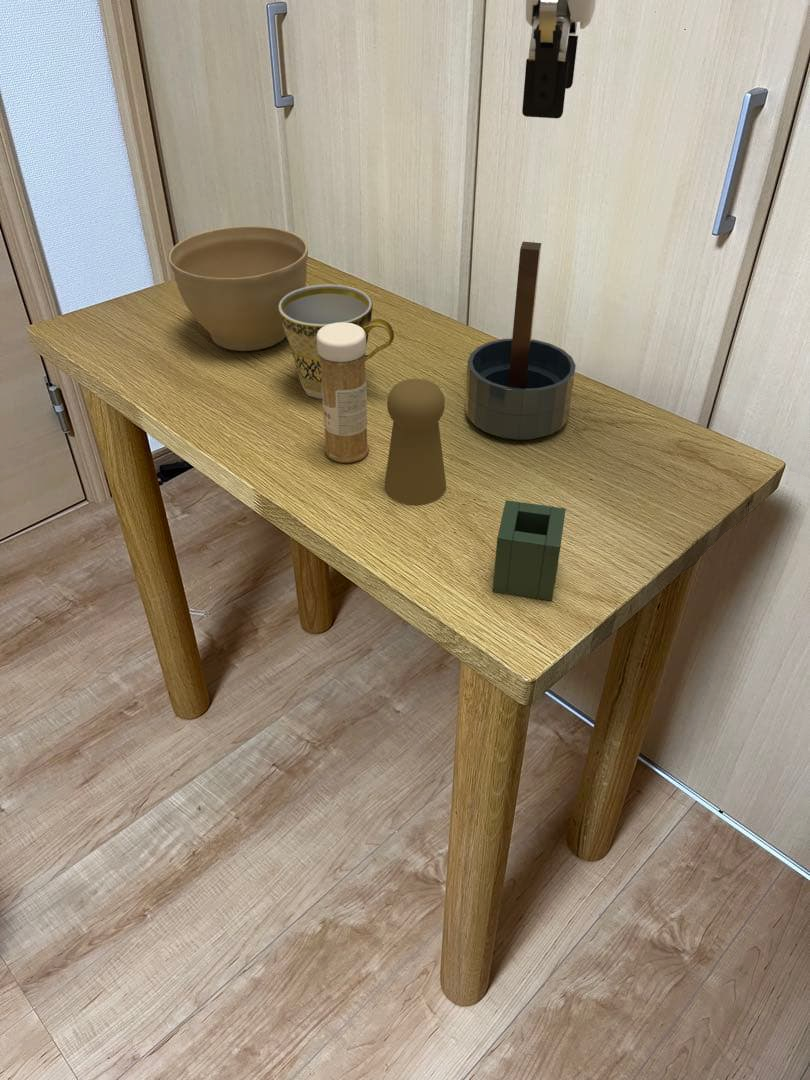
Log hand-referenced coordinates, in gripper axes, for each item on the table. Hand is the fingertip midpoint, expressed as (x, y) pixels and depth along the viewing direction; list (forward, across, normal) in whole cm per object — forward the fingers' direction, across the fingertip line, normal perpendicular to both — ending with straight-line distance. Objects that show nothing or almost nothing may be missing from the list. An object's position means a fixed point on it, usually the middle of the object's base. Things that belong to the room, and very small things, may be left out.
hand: (548, 101), depth 71 cm
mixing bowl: (+31, 0, 0) cm, 31 cm away
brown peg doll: (+31, -14, +8) cm, 35 cm away
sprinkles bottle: (+31, -10, +16) cm, 37 cm away
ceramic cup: (+31, +2, +20) cm, 37 cm away
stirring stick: (+30, 0, 0) cm, 30 cm away
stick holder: (+31, -25, -4) cm, 40 cm away
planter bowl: (+31, +12, +35) cm, 49 cm away
